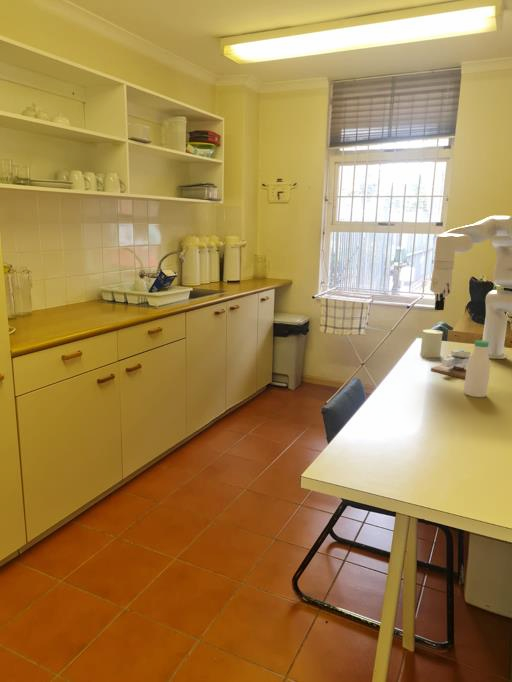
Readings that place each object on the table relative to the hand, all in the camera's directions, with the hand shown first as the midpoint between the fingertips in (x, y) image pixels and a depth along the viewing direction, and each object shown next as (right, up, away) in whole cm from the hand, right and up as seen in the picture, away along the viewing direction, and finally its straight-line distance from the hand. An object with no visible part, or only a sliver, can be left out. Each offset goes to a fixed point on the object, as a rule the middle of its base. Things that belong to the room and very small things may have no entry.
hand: (439, 309), depth 212 cm
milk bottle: (+4, -33, -26) cm, 42 cm away
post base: (+9, -26, +3) cm, 28 cm away
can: (+6, -20, +30) cm, 36 cm away
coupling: (+6, -23, 0) cm, 24 cm away
